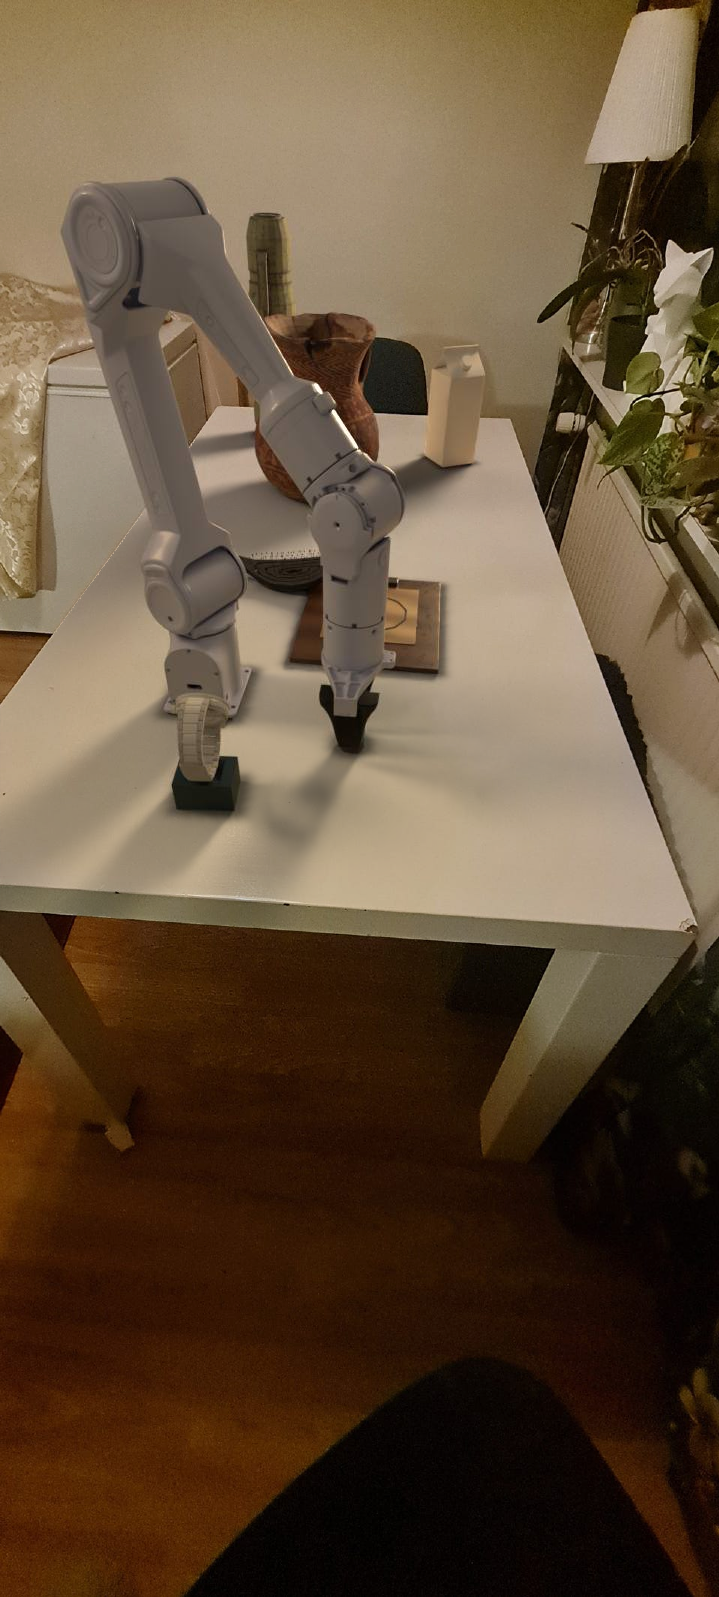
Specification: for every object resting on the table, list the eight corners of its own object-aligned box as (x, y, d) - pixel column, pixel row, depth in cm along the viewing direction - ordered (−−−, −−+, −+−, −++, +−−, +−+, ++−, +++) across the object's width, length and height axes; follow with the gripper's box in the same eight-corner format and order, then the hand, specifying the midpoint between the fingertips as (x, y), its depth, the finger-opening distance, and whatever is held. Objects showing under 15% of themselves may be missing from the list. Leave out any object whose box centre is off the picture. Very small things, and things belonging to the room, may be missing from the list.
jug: (367, 519, 116) (374, 342, 98) (243, 507, 118) (228, 331, 100) (384, 471, 132) (393, 311, 114) (275, 461, 134) (267, 302, 116)
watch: (243, 767, 72) (232, 676, 64) (231, 824, 66) (218, 732, 58) (187, 765, 72) (171, 674, 64) (171, 822, 66) (150, 730, 58)
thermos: (302, 426, 149) (297, 211, 124) (296, 445, 140) (289, 218, 116) (260, 424, 149) (246, 209, 124) (251, 443, 140) (235, 216, 116)
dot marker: (363, 754, 74) (366, 700, 69) (335, 752, 74) (335, 697, 69) (366, 736, 76) (368, 682, 71) (338, 734, 76) (339, 680, 71)
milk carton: (423, 455, 138) (433, 342, 125) (455, 451, 141) (468, 339, 127) (441, 468, 134) (454, 352, 121) (473, 463, 136) (489, 349, 123)
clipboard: (437, 673, 85) (438, 665, 84) (289, 661, 86) (289, 653, 85) (440, 585, 100) (441, 578, 100) (314, 576, 101) (314, 568, 100)
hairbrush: (177, 538, 103) (347, 539, 99) (183, 562, 105) (349, 564, 102) (158, 564, 97) (338, 566, 93) (165, 589, 99) (340, 592, 96)
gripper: (393, 659, 59) (384, 779, 68) (402, 577, 69) (393, 691, 78) (309, 653, 59) (312, 773, 68) (331, 572, 69) (330, 686, 79)
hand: (351, 729), depth 73 cm, fingers open, 4 cm apart
